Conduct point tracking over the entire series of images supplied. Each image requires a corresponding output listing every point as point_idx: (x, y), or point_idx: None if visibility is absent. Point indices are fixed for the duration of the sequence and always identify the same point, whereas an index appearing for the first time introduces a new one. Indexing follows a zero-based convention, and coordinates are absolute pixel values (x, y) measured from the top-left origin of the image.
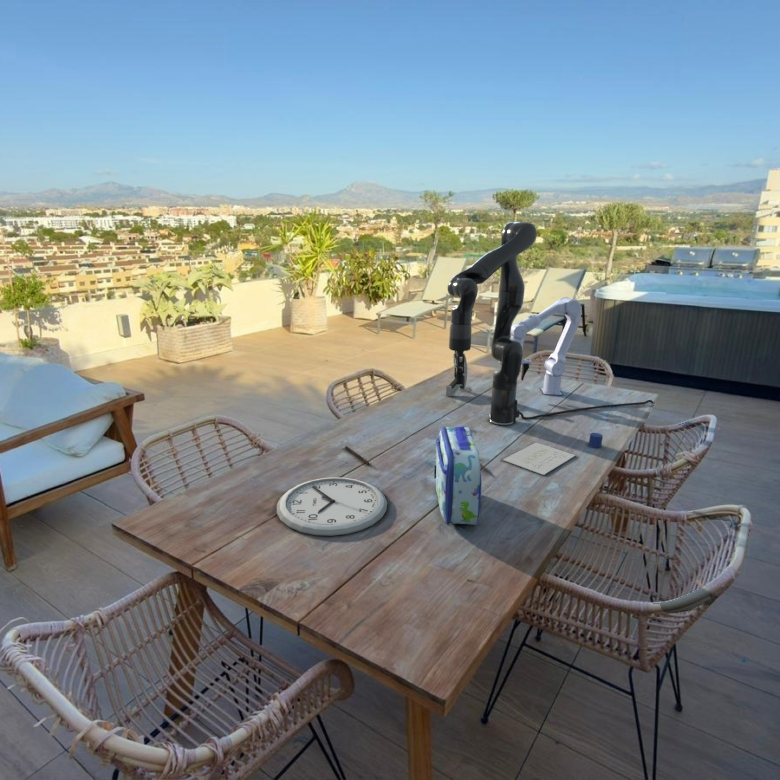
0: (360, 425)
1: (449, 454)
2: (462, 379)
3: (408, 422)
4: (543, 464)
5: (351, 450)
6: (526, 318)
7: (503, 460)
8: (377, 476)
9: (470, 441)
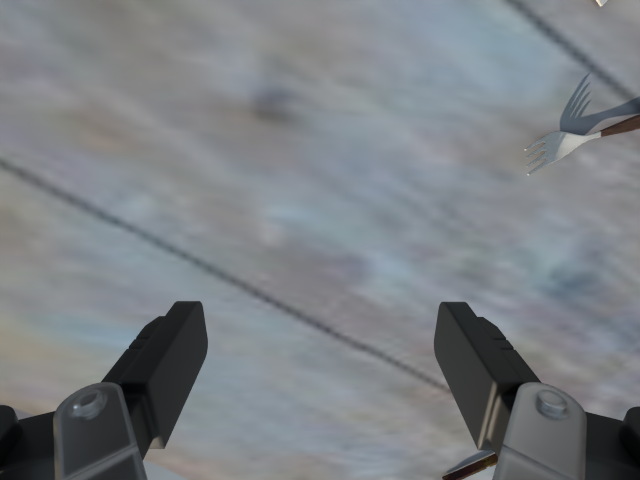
0: (270, 459)
1: None
2: (484, 330)
3: (217, 343)
4: None
5: (476, 472)
6: None
7: (605, 1)
8: (620, 406)
9: None
